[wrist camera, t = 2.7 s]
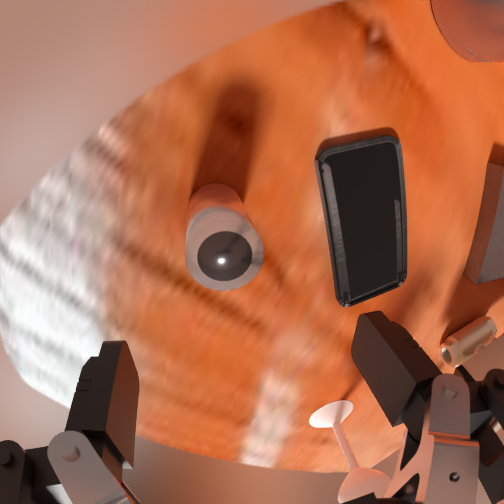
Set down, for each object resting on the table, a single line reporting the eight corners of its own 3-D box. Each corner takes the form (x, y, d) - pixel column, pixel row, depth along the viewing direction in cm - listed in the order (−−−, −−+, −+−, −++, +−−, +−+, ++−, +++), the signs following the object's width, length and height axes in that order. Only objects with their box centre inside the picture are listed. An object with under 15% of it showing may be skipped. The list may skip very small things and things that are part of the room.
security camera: (410, 379, 38) (468, 467, 22) (415, 342, 34) (490, 442, 19) (491, 327, 39) (552, 392, 23) (501, 289, 35) (574, 356, 19)
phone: (339, 310, 28) (315, 152, 21) (335, 303, 29) (310, 150, 22) (407, 283, 28) (401, 134, 22) (401, 277, 29) (393, 132, 23)
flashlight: (186, 184, 21) (181, 222, 14) (241, 181, 22) (264, 217, 15) (190, 236, 23) (189, 293, 16) (242, 232, 24) (263, 287, 17)
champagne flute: (349, 419, 40) (408, 548, 18) (307, 431, 39) (358, 570, 17) (357, 394, 37) (430, 539, 15) (310, 407, 36) (372, 567, 15)
